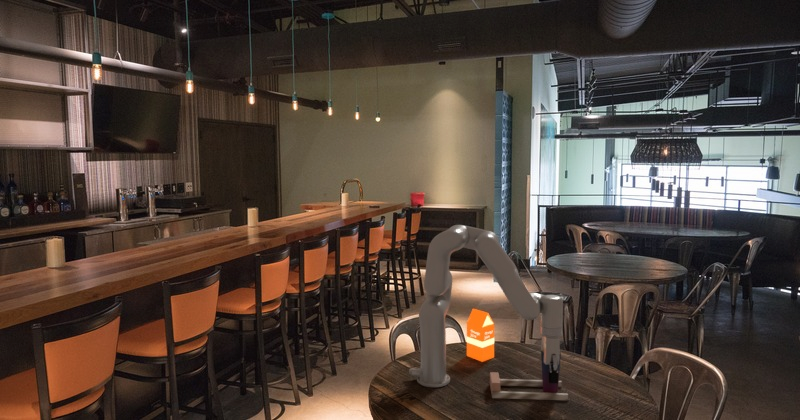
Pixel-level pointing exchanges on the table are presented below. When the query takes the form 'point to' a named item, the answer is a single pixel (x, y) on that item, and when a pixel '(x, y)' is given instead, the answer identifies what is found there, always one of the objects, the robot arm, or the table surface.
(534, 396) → the track
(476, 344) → the orange juice
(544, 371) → the cup
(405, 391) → the table surface
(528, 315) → the robot arm
